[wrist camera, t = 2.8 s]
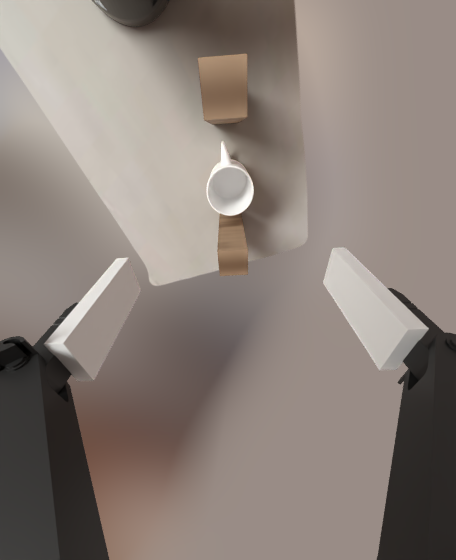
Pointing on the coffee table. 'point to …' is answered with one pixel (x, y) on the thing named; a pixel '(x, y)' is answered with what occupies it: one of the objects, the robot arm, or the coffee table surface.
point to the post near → (224, 88)
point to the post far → (232, 246)
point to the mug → (229, 186)
